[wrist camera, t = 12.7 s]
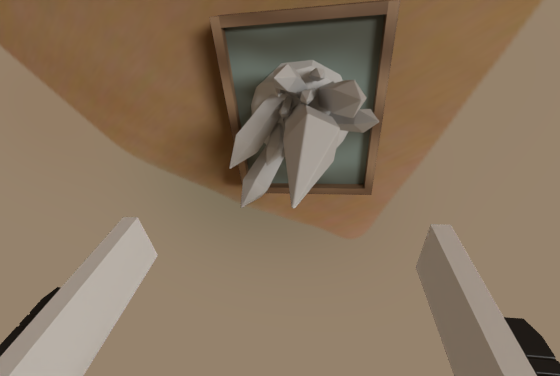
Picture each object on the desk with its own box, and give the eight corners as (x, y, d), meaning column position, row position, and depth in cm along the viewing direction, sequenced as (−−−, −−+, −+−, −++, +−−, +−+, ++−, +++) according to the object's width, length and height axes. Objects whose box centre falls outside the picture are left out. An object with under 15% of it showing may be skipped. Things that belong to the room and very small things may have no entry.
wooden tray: (223, 14, 24) (209, 17, 21) (390, -1, 22) (400, -1, 19) (250, 175, 34) (243, 192, 31) (366, 176, 32) (371, 194, 29)
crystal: (221, 131, 28) (144, 231, 16) (308, 20, 21) (289, 48, 9) (290, 186, 31) (269, 305, 19) (386, 104, 24) (448, 208, 12)
